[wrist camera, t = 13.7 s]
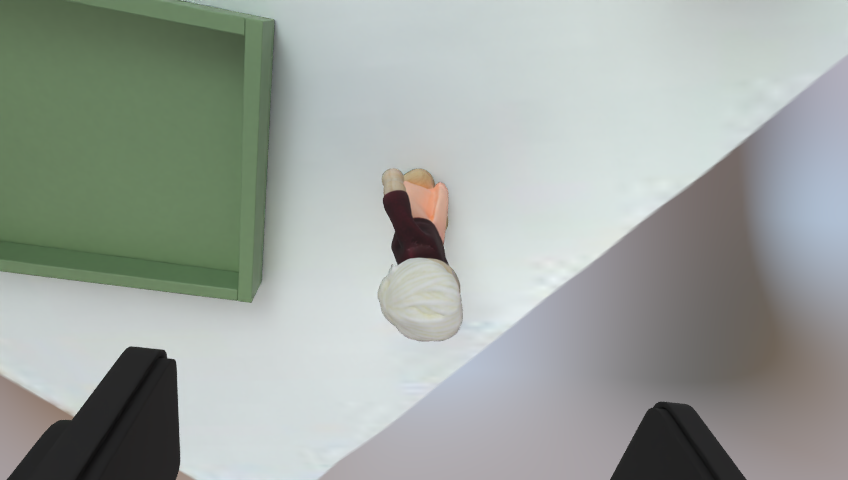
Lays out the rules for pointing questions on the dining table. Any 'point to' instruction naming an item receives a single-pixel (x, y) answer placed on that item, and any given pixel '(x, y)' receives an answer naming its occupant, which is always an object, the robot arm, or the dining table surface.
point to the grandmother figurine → (419, 259)
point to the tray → (135, 144)
